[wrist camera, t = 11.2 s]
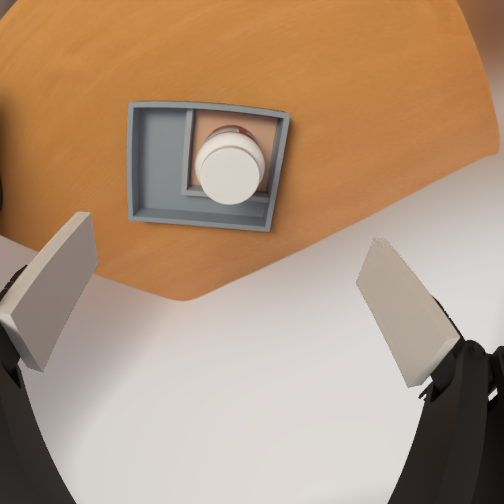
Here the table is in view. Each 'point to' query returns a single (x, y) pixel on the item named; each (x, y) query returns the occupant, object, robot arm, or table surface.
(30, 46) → the table surface
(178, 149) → the walled box
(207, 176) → the pill bottle
